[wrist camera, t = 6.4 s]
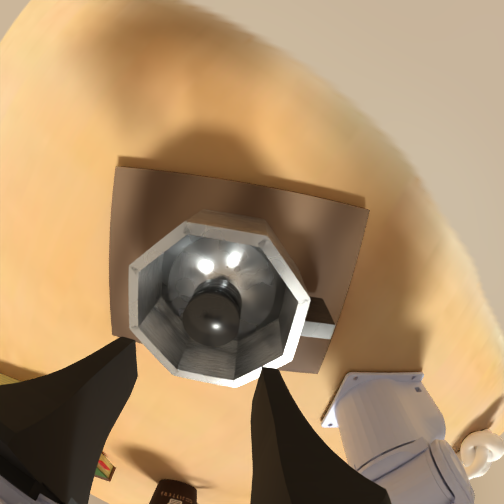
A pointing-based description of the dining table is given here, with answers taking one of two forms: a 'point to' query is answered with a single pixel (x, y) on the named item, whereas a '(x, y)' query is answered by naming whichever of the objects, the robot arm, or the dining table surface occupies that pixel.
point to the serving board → (241, 203)
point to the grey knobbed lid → (221, 289)
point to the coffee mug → (174, 493)
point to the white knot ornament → (480, 452)
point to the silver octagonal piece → (243, 345)
